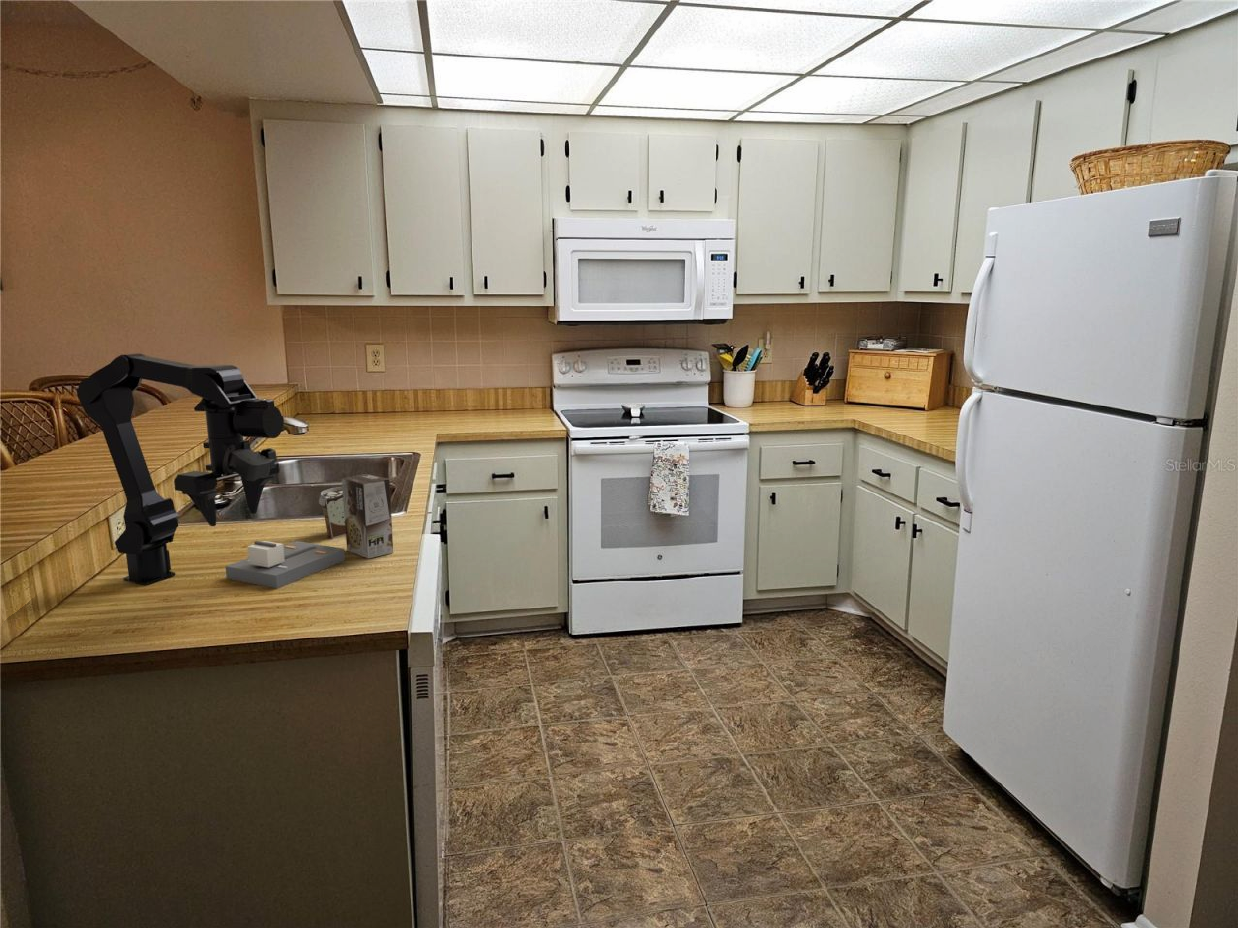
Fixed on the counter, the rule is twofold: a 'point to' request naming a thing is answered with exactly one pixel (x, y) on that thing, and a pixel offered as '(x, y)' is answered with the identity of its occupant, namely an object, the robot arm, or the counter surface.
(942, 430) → the counter surface
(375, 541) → the coffee box
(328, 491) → the food container
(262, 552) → the fader tab
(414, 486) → the counter surface
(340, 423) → the counter surface
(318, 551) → the fader console
